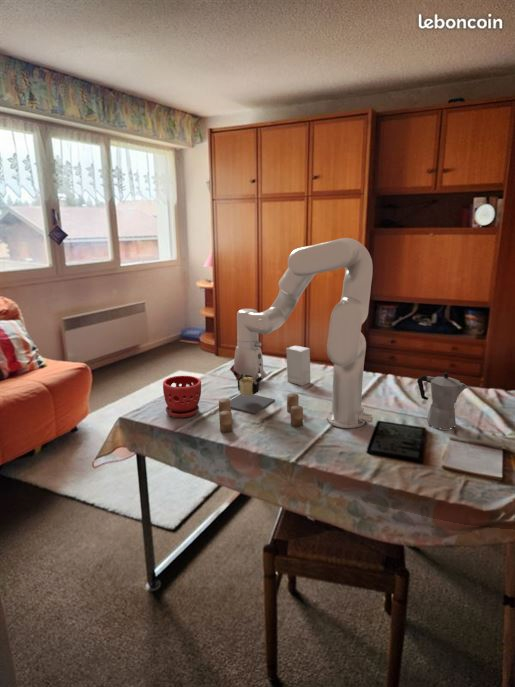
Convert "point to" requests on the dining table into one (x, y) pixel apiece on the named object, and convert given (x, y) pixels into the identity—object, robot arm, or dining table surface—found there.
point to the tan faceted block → (246, 386)
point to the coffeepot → (442, 399)
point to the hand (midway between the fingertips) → (248, 390)
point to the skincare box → (298, 365)
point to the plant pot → (182, 395)
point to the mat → (250, 403)
